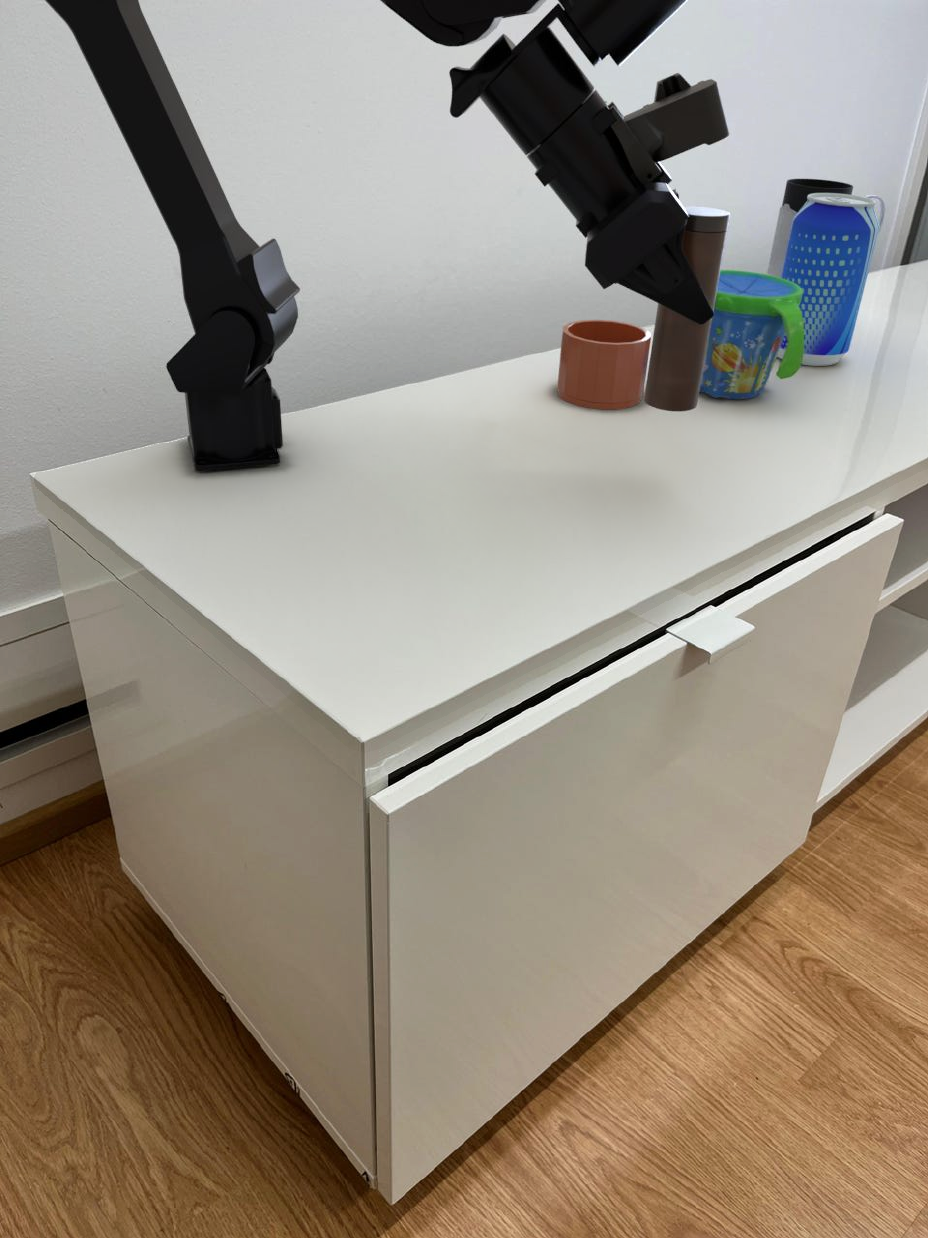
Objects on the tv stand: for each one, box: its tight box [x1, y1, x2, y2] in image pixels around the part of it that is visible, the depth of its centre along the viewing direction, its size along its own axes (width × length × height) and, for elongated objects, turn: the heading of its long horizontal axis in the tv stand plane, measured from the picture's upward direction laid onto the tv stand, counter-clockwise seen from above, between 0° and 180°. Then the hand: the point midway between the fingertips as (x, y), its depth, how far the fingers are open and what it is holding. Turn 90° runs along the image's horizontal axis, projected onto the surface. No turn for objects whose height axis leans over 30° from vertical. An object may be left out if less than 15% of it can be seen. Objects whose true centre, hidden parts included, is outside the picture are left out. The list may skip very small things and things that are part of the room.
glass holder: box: [766, 178, 887, 278], centre depth 119 cm, size 9×14×15 cm, turn 106°
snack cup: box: [699, 269, 804, 400], centre depth 93 cm, size 16×10×10 cm
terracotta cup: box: [556, 319, 652, 410], centre depth 91 cm, size 8×8×6 cm
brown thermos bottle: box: [643, 205, 731, 412], centre depth 68 cm, size 4×4×13 cm
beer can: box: [777, 193, 879, 367], centre depth 102 cm, size 8×8×16 cm
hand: (705, 312), depth 67 cm, fingers closed on brown thermos bottle, 4 cm apart
